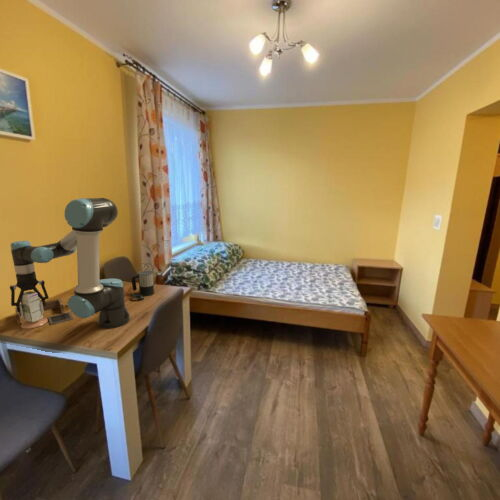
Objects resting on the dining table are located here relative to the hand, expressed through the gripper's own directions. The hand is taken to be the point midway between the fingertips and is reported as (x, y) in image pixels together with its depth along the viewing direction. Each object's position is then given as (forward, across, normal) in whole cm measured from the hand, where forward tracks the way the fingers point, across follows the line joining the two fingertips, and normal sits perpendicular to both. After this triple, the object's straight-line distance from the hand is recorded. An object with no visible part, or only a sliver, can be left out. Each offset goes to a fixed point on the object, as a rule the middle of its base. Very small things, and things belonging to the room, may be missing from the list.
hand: (33, 314), depth 140 cm
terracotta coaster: (+5, 0, 0) cm, 5 cm away
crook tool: (+5, -21, -22) cm, 31 cm away
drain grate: (+5, -11, +2) cm, 12 cm away
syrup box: (+3, 0, 0) cm, 3 cm away
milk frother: (+5, -57, -1) cm, 57 cm away
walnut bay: (+5, -4, -11) cm, 13 cm away
